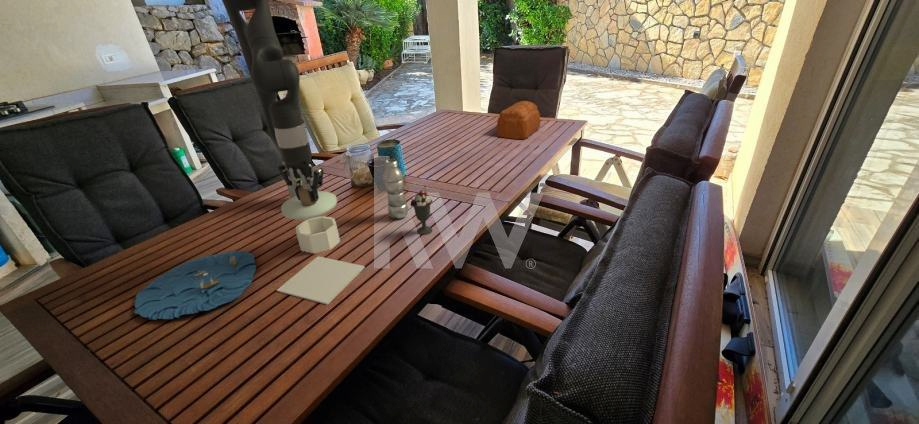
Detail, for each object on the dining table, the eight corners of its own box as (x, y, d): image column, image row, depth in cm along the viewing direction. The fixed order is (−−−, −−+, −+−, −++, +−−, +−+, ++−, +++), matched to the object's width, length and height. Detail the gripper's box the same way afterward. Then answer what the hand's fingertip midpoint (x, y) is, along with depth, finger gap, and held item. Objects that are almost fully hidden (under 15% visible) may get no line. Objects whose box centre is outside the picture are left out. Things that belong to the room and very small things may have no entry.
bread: (541, 127, 219) (542, 100, 212) (525, 140, 200) (526, 111, 193) (512, 125, 227) (512, 98, 220) (494, 137, 208) (494, 108, 201)
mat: (277, 291, 102) (276, 290, 102) (318, 257, 115) (317, 256, 115) (327, 304, 96) (327, 303, 96) (364, 267, 109) (364, 266, 109)
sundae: (438, 226, 127) (434, 183, 120) (430, 237, 122) (425, 192, 115) (419, 224, 129) (414, 181, 122) (410, 234, 124) (405, 190, 117)
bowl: (292, 249, 120) (287, 232, 117) (317, 230, 129) (313, 214, 126) (323, 255, 116) (318, 238, 113) (346, 236, 125) (343, 219, 122)
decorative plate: (173, 344, 88) (163, 326, 85) (116, 301, 102) (106, 285, 100) (286, 273, 109) (281, 257, 107) (226, 246, 124) (220, 231, 122)
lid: (269, 214, 109) (264, 197, 106) (306, 191, 121) (302, 175, 118) (313, 223, 104) (309, 204, 101) (347, 197, 116) (344, 180, 113)
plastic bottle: (405, 221, 131) (397, 164, 122) (386, 220, 133) (377, 164, 123) (411, 212, 137) (404, 157, 128) (392, 211, 138) (384, 157, 129)
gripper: (261, 144, 103) (279, 202, 111) (305, 149, 98) (320, 210, 106) (282, 135, 109) (297, 191, 117) (324, 139, 104) (337, 197, 112)
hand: (308, 200), depth 112 cm, fingers closed on lid, 4 cm apart
